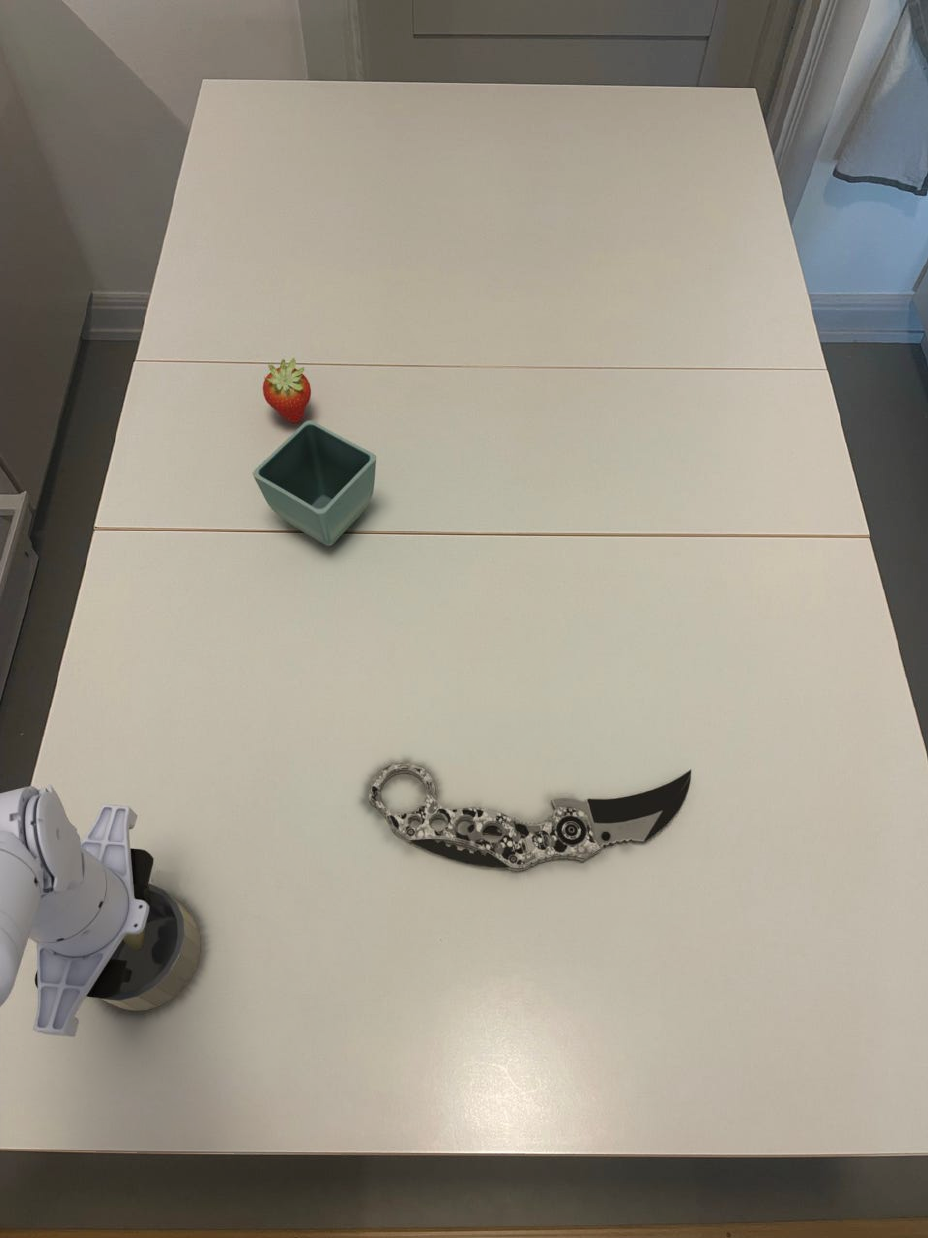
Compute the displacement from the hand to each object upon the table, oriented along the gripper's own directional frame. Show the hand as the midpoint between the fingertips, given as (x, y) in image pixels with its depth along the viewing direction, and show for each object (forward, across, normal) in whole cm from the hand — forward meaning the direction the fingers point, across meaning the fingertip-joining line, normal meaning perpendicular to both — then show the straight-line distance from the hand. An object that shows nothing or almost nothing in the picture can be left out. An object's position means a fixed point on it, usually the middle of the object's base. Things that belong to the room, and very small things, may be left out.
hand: (127, 940), depth 66 cm
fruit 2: (+6, +58, -1) cm, 58 cm away
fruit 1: (+2, 0, 0) cm, 2 cm away
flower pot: (+6, +44, -7) cm, 45 cm away
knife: (+6, +14, -30) cm, 34 cm away
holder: (+5, 0, 0) cm, 5 cm away
